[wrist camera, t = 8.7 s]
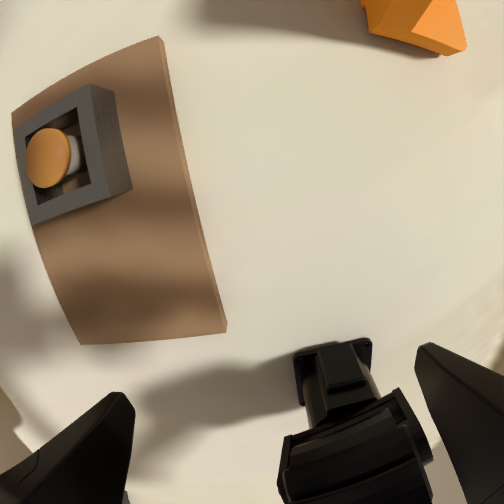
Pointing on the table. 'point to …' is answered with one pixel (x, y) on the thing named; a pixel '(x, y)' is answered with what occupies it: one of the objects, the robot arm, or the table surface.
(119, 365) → the table surface
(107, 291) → the board
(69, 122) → the grey square frame
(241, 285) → the table surface
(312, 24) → the table surface
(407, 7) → the bracket
